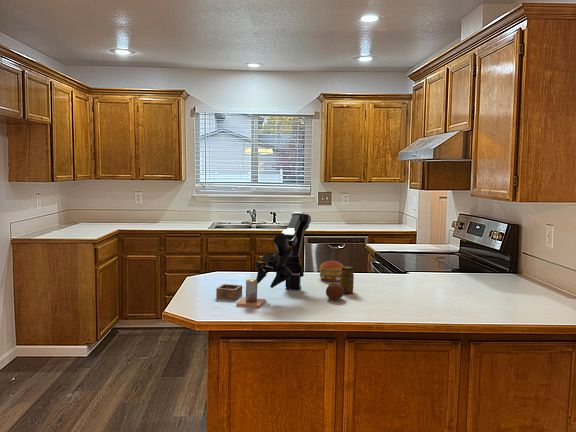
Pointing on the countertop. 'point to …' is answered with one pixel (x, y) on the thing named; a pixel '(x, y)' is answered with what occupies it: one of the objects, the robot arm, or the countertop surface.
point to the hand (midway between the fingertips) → (263, 285)
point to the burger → (331, 271)
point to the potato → (334, 291)
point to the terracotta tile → (255, 305)
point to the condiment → (347, 280)
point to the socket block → (229, 291)
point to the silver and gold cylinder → (251, 290)
